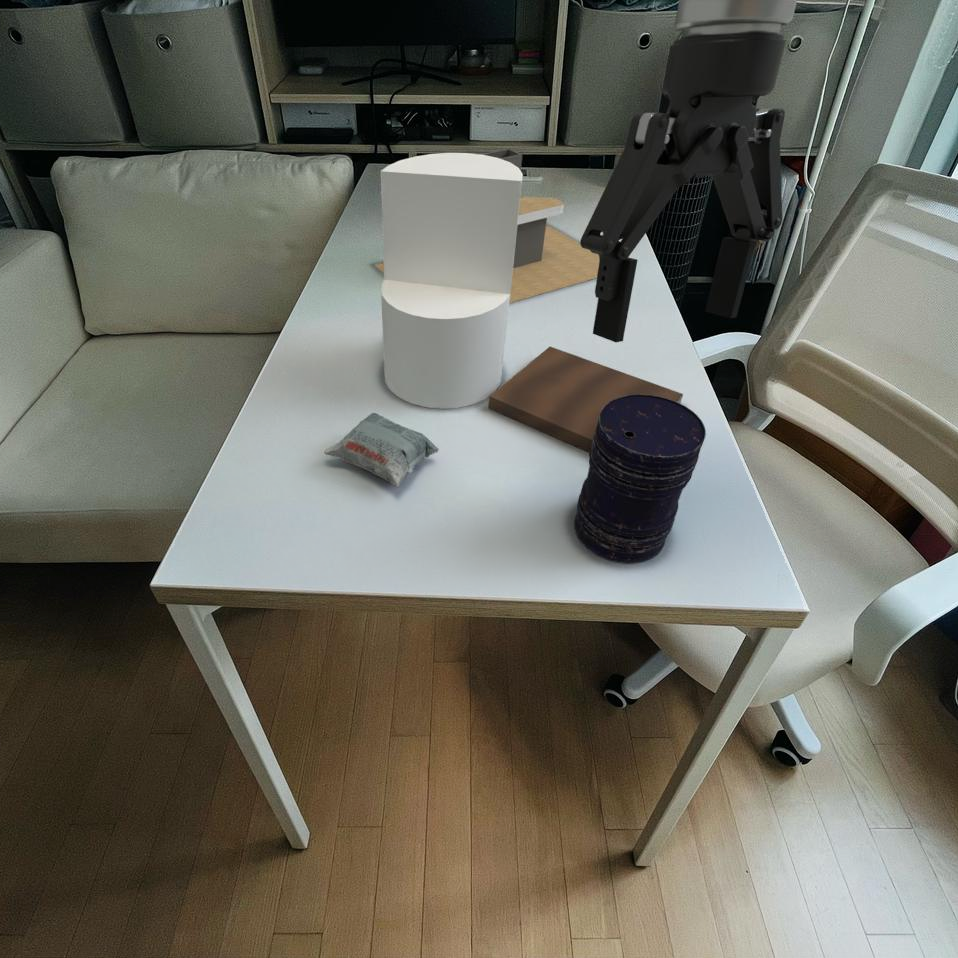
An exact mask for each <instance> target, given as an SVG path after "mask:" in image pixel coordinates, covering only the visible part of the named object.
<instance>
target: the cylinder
mask: <svg viewBox="0 0 958 958" xmlns="http://www.w3.org/2000/svg"><path fill="white" fill-rule="evenodd" d="M480 154H481V153H479V154H478V153H469V152H442V153H439V152H438V153H429V154H422V155H417V156H413V157H408V158H404V159H400V160H397V161H395V162H393V163H391V164H389V165H387V166H386V167H384V168H383V169H381V170H380V192H381V193H380V194H381V195H380V198H381V199H380V200H381V224H382V252H383V253H382V254H383V255H382V256H383V262H384V273H383V282H382V284H381V285H380V296H381V297H380V299H381V322H382V325H381V326H382V347H383V348H382V349H383V373H384V374H383V375H384V382H385V384H386V386H387V387H388V389H389V391H391V392H392V393H393V394H394V395H395V396H396V397H398V398H399V399H401V400H403V401H405V402H407V403H409V404H411V405H415V406H420V407H422V408H423V407H424V408H428V409H439V410H440V409H441V410H445V409H446V410H447V409H460V408H464V407H467V406H472V405H475V404H477V403H479V402H482V401H484V400H486V399H489V396H491V395H492V394H493V393H494V392H495V391H497V390H498V389H499V386H500V385H501V383H502V377H503V369H504V368H503V367H504V357H505V347H506V341H507V340H506V338H507V330H508V329H507V328H508V321H509V311H510V303H509V301H510V292H511V282H512V273H513V263H514V254H515V244H516V234H517V225H518V215H519V206H520V197H522V196H521V195H522V187H523V186H522V185H523V176H524V174H523V172H522V170H521V171H520V169H519V168H518V167H516V166H515V165H513V164H512V163H510V162H508V161H505V160H502V159H499V158H496V157H491V156H486V155H480Z"/></svg>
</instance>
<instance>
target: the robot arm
mask: <svg viewBox="0 0 958 958" xmlns="http://www.w3.org/2000/svg"><path fill="white" fill-rule="evenodd" d="M797 2H798V0H678V4H677V10H676V16H675V20H674V28H675V29H676V31H678V32H682V34H681V38H678V39H675V40H674V41H673V44H671V45H669V51H668V56H667V62H666V68H665V72H664V79H663V85H662V94H663V95H664V97H666V98H668V99H669V104H668V105H669V106H668V108H667V110H666V112H636V113H635V114H634V115H633V116H632V118H631V122H630V126H629V130H628V134H627V139H626V143H625V146H624V149H623V151H622V152H621V155H620V157H619V159H618V161H617V163H616V166H615V168H614V169H613V172H612V173H611V176H610V177H609V180H608V182H607V183H606V186H605V189H604V190H603V192H602V195H601V196H600V198H599V201H598V203H597V205H596V207H595V209H594V211H593V213H592V214H591V217H590V219H589V221H588V223H587V226H586V227H585V229H584V231H583V233H582V235H581V238H580V242H579V243H580V244H581V247H582V248H584V249H588V250H590V251H591V252H592V253H595V254H598V255H599V259H600V260H599V267H598V274H597V278H596V281H595V283H596V284H595V286H594V287H595V288H594V296H595V298H597V302H596V303H597V304H596V310H595V315H594V322H593V329H592V335H595V336H598V337H600V338H603V339H605V340H607V341H611V342H614V343H621V342H624V337H625V332H626V326H627V321H628V315H629V309H630V304H631V299H632V293H633V288H634V287H633V286H634V282H635V277H636V270H637V266H638V259H637V258H632V257H630V256H631V254H632V253H633V252H634V251H635V249H636V247H637V246H638V245H639V243H640V242H641V240H642V239H643V238H644V236H645V235H646V234H647V232H648V231H649V229H650V228H651V227H652V225H653V224H654V223H655V221H656V220H657V218H658V217H659V216H660V214H661V213H662V211H663V210H664V208H665V207H666V206H667V204H668V203H669V201H670V200H671V199H672V198H673V196H674V195H675V193H676V192H677V191H678V189H679V188H680V187H682V186H685V185H687V184H688V183H689V182H690V181H691V179H701V178H704V177H706V176H708V177H710V178H712V179H713V182H714V186H715V188H716V191H717V194H718V197H719V201H720V202H721V206H722V210H723V212H724V215H725V219H726V221H727V224H728V226H729V230H730V233H731V235H732V236H734V237H732V236H726V237H722V240H721V244H720V248H719V251H718V256H717V261H716V264H715V270H714V274H713V277H712V281H711V285H710V290H709V293H708V297H707V301H706V307H705V312H706V313H710V314H713V315H717V316H721V317H723V318H728V319H729V320H730V319H735V318H737V316H738V312H739V308H740V304H741V301H742V297H743V294H744V289H745V286H746V282H747V278H748V276H749V273H750V272H751V268H752V265H753V264H752V263H753V261H754V258H755V253H756V250H757V245H758V242H759V241H763V242H769V241H771V240H772V238H773V237H774V235H775V231H777V230H779V228H780V227H781V226H782V223H783V198H782V197H783V195H782V194H783V193H782V166H781V165H782V164H781V163H782V161H781V136H782V130H783V126H784V121H785V120H784V119H785V115H786V111H785V110H784V108H757V105H758V100H759V98H760V97H764V96H767V95H769V94H771V93H772V92H773V90H774V89H775V86H776V83H777V78H778V74H779V71H780V67H781V63H782V59H783V54H784V52H785V48H786V43H787V40H786V39H784V38H785V35H784V34H780V31H781V27H782V26H786V25H788V24H789V23H790V22H791V21H792V20H793V19H794V16H795V10H796V6H797ZM763 211H766V212H763Z"/></svg>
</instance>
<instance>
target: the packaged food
mask: <svg viewBox="0 0 958 958" xmlns="http://www.w3.org/2000/svg"><path fill="white" fill-rule="evenodd" d="M439 450H440V449H439V447H438V446H436V444H434V442H432V441H431V440H430V439H429V438H428V437H427V436H426V435H424V434H423V433H421V432H418V431H416V430H414V429H411V428H407V427H405V426H402V425H401V424H399V423H396V422H395V421H392V420H390V419H389V418H386V417H384V416H383V415H380V414H378V413H376V412H371V413H370V414H369V415H367V417H365V418H364V419H362V420H361V421H360V422H359V423H357V425H356V426H355V427H354V428H352V429H351V430H350V431H349V432H348V433H347V434H346V435H345V436H344V437H343V438H342V439H341V440H340V441H339V442H337V443H335V444H333V445H331V446H329V447H327V448H326V449H324V451H323V454H324V455H326V456H330V457H332V458H333V457H335V458H339V459H340V460H341V461H343V462H346V463H348V464H350V465H354V466H357V467H359V468H362V469H364V470H366V471H369V473H370V472H371V473H372V474H373V475H376V476H377V477H380V478H381V479H383V480H384V481H387V482H388V483H390V484H391V485H394V486H395V487H397V488H399V487H400V486H401V484H402V481H403V480H404V478H405V476H406V475H407V474H408V473H413V472H414V468H415V467H417V466H418V465H419V463H420V462H421V461H423V460H425V458H429V457H430V456H433V455H434V454H436V453H438V452H439Z"/></svg>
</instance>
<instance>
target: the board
mask: <svg viewBox="0 0 958 958" xmlns="http://www.w3.org/2000/svg"><path fill="white" fill-rule="evenodd" d="M628 395H653V396H659V397H663V398H667V399H670V400H673V401H675V402H678V403H680V404H682V403H681V402H682V400H683V397H684V393H682V392H679V391H676V390H673V389H670V388H668V387H666V386H661V385H659V384H658V383H657V384H656V383H654V382H650V381H649V380H645V379H643V378H640V377H636V376H634V375H632V374H628V373H626V372H622V371H620V370H618V369H614V368H611V367H609V366H606V365H604V364H601V363H597V362H595V361H593V360H589V359H586V358H585V357H584V358H583V357H581V356H578V355H576V354H572V353H570V352H567V351H564V350H561V349H559V348H556V347H553V346H548V347H547V348H546V349H545V350H544V351H542V352H541V353H540V354H539V355H538V356H537V357H535V358H534V359H533V360H531V361H530V362H529V363H528V364H527V365H526V366H524V367H523V368H522V369H520V370H519V371H518V372H517V373H516V374H514V375H513V376H512V377H511V378H510V379H508V380H507V381H506V382H505V383H503V385H501V386H500V387H498V388H497V390H496V391H495V392H494V393H493V394H491V395H490V396H489V397H488V407H487V408H488V409H490V410H492V411H494V412H496V413H498V414H501V415H503V416H505V417H509V418H510V419H512V420H515V421H517V422H519V423H522V424H524V425H526V426H528V427H531V428H533V429H536V430H538V431H540V432H542V433H545V434H547V435H549V436H552V437H554V438H556V439H559V440H561V441H563V442H566V443H568V444H570V445H572V446H575V447H577V448H579V449H581V450H584V451H586V452H588V453H590V449H591V445H592V440H593V436H594V433H595V431H596V428H597V424H598V419H599V415H600V412H601V410H602V408H603V407H604V406H605V405H606V404H607V403H609V402H610V401H612V400H614V399H616V398H619V397H623V396H628Z"/></svg>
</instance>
